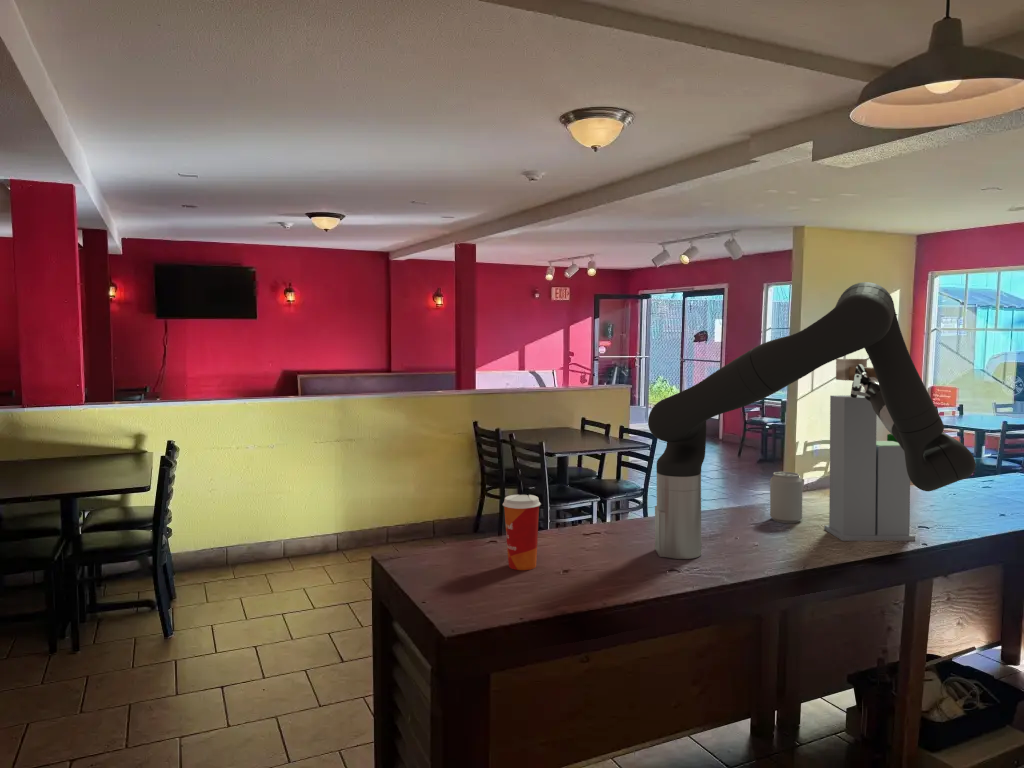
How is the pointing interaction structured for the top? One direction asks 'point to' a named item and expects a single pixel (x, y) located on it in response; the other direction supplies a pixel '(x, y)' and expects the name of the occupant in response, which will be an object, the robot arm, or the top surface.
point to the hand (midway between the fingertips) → (866, 367)
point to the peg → (851, 368)
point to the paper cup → (522, 530)
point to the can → (786, 497)
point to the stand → (865, 477)
